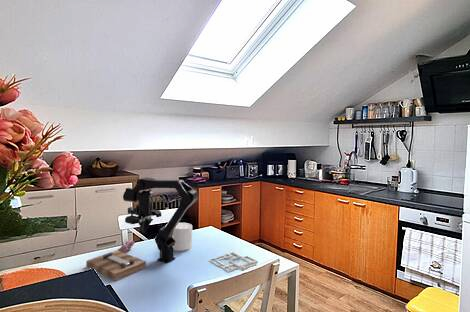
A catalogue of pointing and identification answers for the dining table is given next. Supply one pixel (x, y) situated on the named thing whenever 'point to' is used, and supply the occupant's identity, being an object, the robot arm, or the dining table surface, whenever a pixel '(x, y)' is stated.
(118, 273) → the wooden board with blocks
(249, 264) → the floor plan model
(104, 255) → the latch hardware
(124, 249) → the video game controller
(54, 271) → the dining table surface
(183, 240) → the cup
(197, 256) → the dining table surface
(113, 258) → the strap
